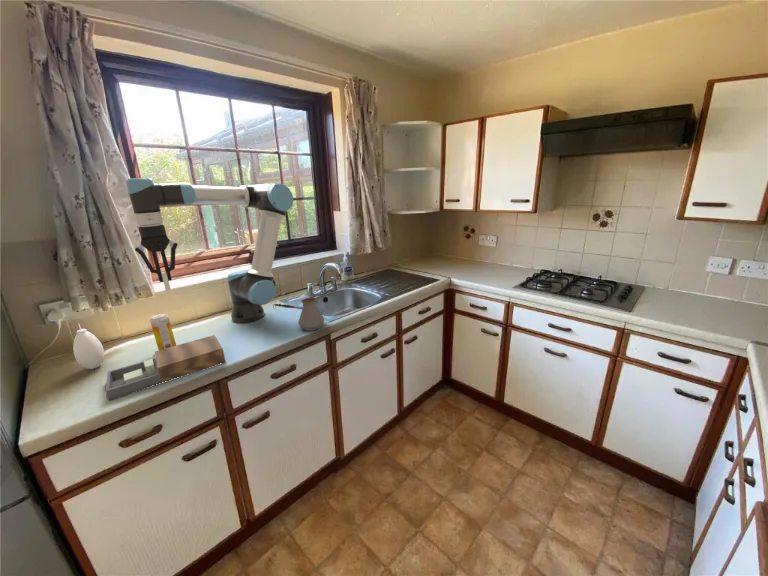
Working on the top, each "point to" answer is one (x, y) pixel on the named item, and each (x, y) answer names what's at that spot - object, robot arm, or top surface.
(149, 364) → the rear tile
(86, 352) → the air blower bulb
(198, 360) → the walnut board
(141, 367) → the box
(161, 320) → the beer can
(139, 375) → the front tile
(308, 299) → the coffee pot
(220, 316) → the top surface
